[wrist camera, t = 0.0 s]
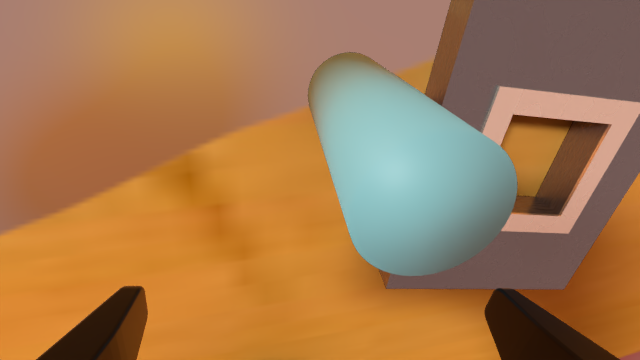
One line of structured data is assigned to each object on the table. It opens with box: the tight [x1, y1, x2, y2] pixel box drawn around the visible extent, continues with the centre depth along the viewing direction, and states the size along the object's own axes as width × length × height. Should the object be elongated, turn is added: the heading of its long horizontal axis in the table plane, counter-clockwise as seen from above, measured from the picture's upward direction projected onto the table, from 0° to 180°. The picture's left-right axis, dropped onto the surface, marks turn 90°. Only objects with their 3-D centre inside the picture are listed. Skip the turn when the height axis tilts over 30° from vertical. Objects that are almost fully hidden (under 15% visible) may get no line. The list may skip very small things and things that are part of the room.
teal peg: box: [308, 52, 517, 276], centre depth 15 cm, size 5×5×13 cm
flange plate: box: [379, 0, 640, 289], centre depth 23 cm, size 22×16×3 cm
